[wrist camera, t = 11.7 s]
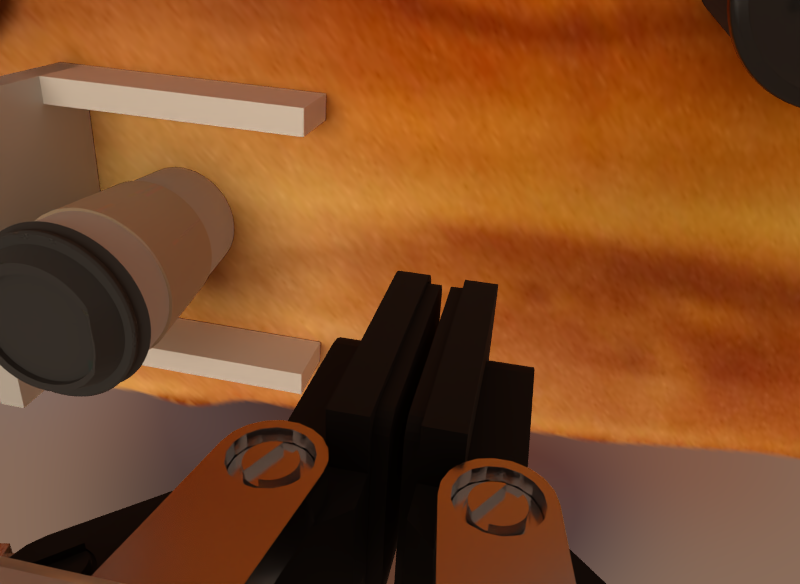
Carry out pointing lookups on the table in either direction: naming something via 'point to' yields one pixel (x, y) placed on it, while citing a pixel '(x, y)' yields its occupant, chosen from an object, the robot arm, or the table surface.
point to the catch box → (78, 178)
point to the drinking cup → (765, 41)
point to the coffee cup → (106, 279)
